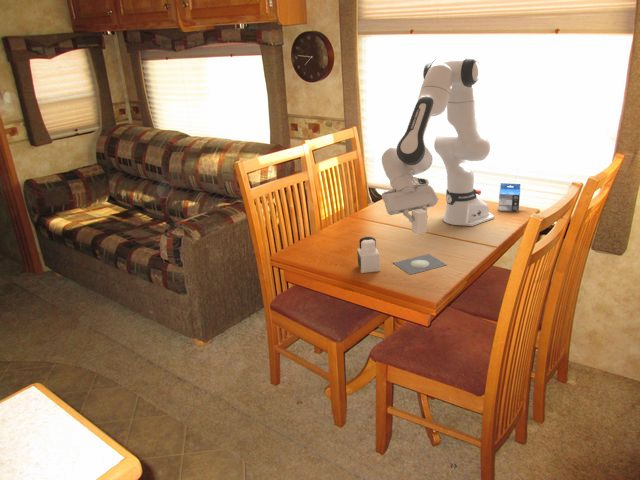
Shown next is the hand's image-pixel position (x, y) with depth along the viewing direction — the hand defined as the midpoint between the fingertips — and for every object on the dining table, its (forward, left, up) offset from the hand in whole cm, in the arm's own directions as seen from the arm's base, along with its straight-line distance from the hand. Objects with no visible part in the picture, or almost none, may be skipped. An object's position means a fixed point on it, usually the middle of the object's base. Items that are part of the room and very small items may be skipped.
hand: (419, 219), depth 191 cm
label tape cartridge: (-66, -29, -18) cm, 74 cm away
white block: (0, 0, -5) cm, 5 cm away
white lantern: (+18, -6, -18) cm, 26 cm away
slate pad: (0, 0, -18) cm, 18 cm away
